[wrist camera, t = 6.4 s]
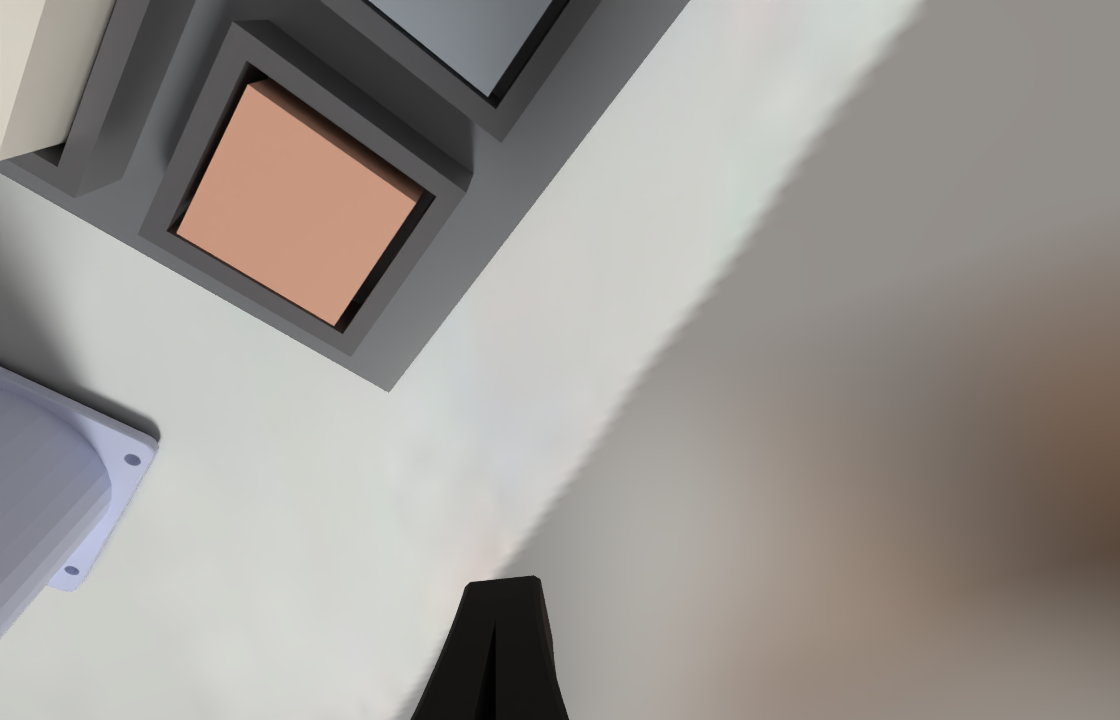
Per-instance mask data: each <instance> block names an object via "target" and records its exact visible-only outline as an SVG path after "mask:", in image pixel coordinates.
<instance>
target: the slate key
mask: <svg viewBox="0 0 1120 720" xmlns="http://www.w3.org/2000/svg"><path fill="white" fill-rule="evenodd" d="M369 1H370V2H372V3H373V4H374V5H375V6H376V7H378V8H379V9H380V10H381V11H383V12H384V13H385V14H386V15H388V16H389V17H390V18H391V19H392V20H394V21H395V22H396V23H397V24H399V25H400V26H401V27H402V28H404V29H405V30H406V31H407V32H408V33H410V34H411V35H412V36H413V37H415V38H416V39H417V40H418V41H420V42H421V43H422V44H423V45H424V46H426V47H427V48H428V49H429V50H431V51H432V52H433V53H434V54H436V55H437V56H438V57H439V58H440V59H442V60H443V61H444V62H445V63H447V64H448V65H449V66H450V67H451V68H453V69H454V70H455V71H456V72H458V73H459V74H460V75H461V76H463V77H464V78H465V79H466V80H467V81H469V82H470V83H471V84H472V85H474V86H475V87H476V88H477V89H479V90H480V91H481V92H482V93H483V94H485V95H486V96H487V97H488V96H489V94H490V93H491V91H492V90H493V88H494V87H495V85H496V84H497V82H498V81H499V79H500V78H501V76H502V75H503V73H504V72H505V70H506V69H507V67H508V66H509V64H510V63H511V61H512V60H513V58H514V57H515V55H516V54H517V52H518V51H519V49H520V48H521V46H522V45H523V43H524V42H525V40H526V39H527V38H528V36H529V35H530V33H531V32H532V30H533V29H534V27H535V26H536V24H537V23H538V21H539V20H540V18H541V17H542V15H543V14H544V12H545V11H546V9H547V8H548V6H549V5H550V3H551V2H552V0H369Z"/></svg>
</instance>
